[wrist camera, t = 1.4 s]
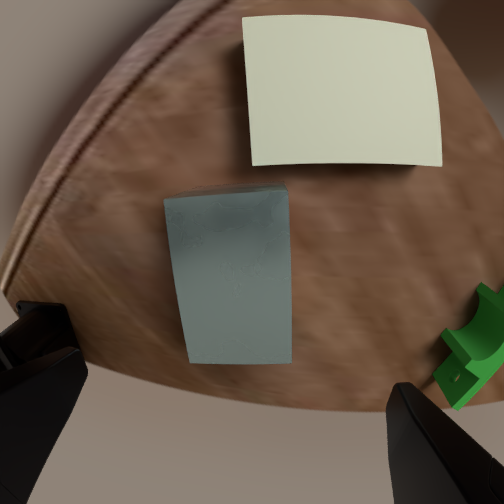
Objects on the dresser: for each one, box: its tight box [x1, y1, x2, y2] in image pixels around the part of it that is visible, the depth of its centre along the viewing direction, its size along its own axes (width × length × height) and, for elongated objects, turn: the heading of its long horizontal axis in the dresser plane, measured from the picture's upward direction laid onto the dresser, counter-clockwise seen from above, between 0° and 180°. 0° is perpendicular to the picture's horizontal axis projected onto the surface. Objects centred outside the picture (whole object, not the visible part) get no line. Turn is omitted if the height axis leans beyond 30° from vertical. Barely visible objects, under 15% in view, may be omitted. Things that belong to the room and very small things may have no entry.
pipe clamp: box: [432, 282, 504, 411], centre depth 17 cm, size 11×4×5 cm, turn 147°
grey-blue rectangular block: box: [164, 181, 292, 364], centre depth 16 cm, size 5×8×6 cm, turn 4°
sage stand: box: [242, 15, 442, 167], centre depth 14 cm, size 10×8×3 cm
